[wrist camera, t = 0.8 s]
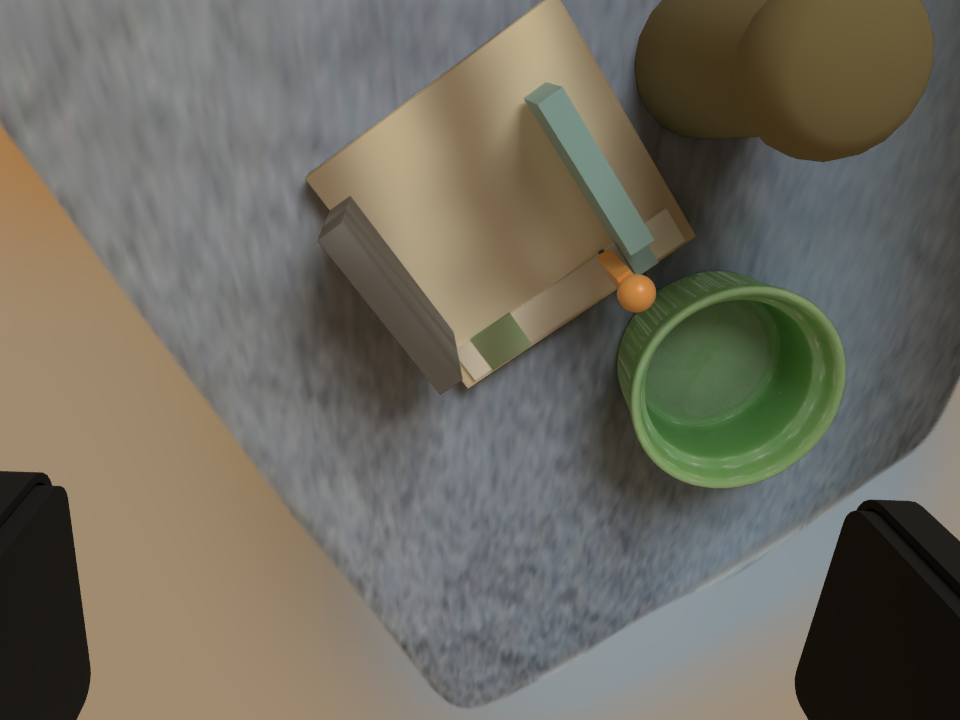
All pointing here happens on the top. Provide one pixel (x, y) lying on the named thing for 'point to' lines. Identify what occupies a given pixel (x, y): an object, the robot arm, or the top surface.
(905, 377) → the top surface
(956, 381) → the top surface
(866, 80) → the cork
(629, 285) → the ball-ended orange rod
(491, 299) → the stand
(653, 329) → the ramekin
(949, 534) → the robot arm
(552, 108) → the pad
